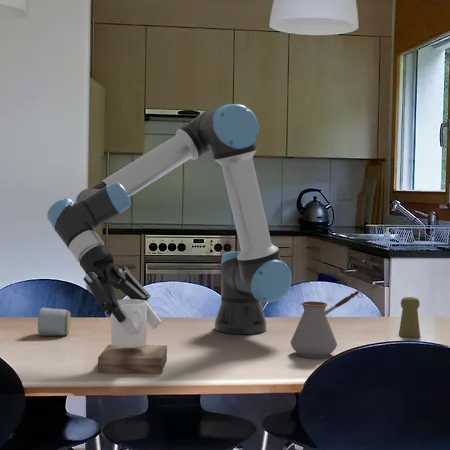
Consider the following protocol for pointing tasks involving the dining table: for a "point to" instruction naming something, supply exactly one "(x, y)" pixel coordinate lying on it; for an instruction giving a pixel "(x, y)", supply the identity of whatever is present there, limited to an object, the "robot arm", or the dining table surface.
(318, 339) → the coffee pot
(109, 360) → the dock
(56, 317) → the ceramic mug
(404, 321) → the cork
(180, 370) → the dining table surface
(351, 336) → the dining table surface
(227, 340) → the dining table surface
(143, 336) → the mug
